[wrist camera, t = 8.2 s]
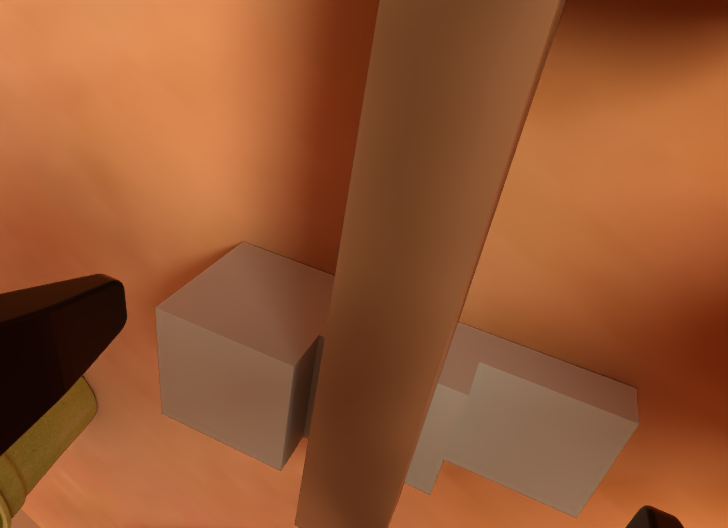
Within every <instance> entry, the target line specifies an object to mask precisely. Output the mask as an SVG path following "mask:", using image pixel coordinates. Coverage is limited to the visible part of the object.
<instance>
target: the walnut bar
mask: <svg viewBox="0 0 728 528" xmlns="http://www.w3.org/2000/svg"><path fill="white" fill-rule="evenodd" d="M565 2H566V0H379V5H378V12H377V18H376V24H375V30H374V36H373V43H372V49H371V55H370V61H369V67H368V73H367V80H366V86H365V92H364V98H363V104H362V111H361V117H360V123H359V129H358V135H357V142H356V148H355V154H354V160H353V166H352V173H351V179H350V185H349V191H348V197H347V204H346V210H345V216H344V222H343V228H342V235H341V241H340V247H339V253H338V259H337V266H336V272H335V278H334V284H333V290H332V297H331V303H330V309H329V315H328V321H327V328H326V334H325V340H324V346H323V352H322V359H321V365H320V371H319V377H318V383H317V390H316V396H315V402H314V408H313V414H312V421H311V427H310V433H309V439H308V445H307V452H306V458H305V464H304V470H303V476H302V483H301V489H300V495H299V501H298V507H297V514H296V520H295V525H296V526H298V527H299V528H388V526H389V523H390V521H391V518H392V516H393V513H394V511H395V508H396V505H397V503H398V500H399V497H400V494H401V491H402V488H403V485H404V482H405V479H406V476H407V473H408V470H409V467H410V464H411V461H412V458H413V455H414V452H415V449H416V446H417V443H418V440H419V437H420V434H421V431H422V428H423V425H424V422H425V419H426V416H427V413H428V410H429V407H430V404H431V401H432V398H433V396H434V393H435V390H436V387H437V384H438V381H439V378H440V375H441V372H442V369H443V366H444V363H445V360H446V357H447V354H448V351H449V348H450V345H451V342H452V339H453V336H454V333H455V330H456V327H457V324H458V321H459V318H460V315H461V312H462V309H463V306H464V303H465V300H466V297H467V294H468V291H469V288H470V285H471V282H472V279H473V276H474V273H475V270H476V267H477V264H478V261H479V258H480V255H481V252H482V249H483V246H484V243H485V240H486V237H487V234H488V231H489V228H490V225H491V222H492V219H493V216H494V214H495V211H496V208H497V205H498V202H499V199H500V196H501V193H502V190H503V187H504V184H505V181H506V178H507V175H508V172H509V169H510V166H511V163H512V160H513V157H514V154H515V151H516V148H517V145H518V142H519V139H520V136H521V133H522V130H523V127H524V124H525V121H526V118H527V115H528V112H529V109H530V106H531V103H532V100H533V97H534V94H535V91H536V88H537V85H538V82H539V79H540V76H541V73H542V70H543V67H544V64H545V61H546V58H547V55H548V52H549V49H550V46H551V43H552V40H553V37H554V34H555V31H556V29H557V26H558V23H559V20H560V17H561V14H562V11H563V8H564V5H565Z"/></svg>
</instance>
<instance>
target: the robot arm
mask: <svg viewBox="0 0 728 528" xmlns="http://www.w3.org/2000/svg"><path fill="white" fill-rule="evenodd" d="M126 320H127V310H126V300H125V290H124V286H123V284H122V282H120V281H119V280H117V279H114V278H112V277H110V276H107V275H105V274H95V275H90V276H85V277H80V278H75V279H70V280H66V281H61V282H56V283H51V284H46V285H41V286H36V287H31V288H27V289H22V290H17V291H12V292H7V293H2V294H0V457H1V456H2V455H3V454H4V453H5V452H6V451H7V450H8V449H9V448H10V447H11V446H12V445H13V444H14V443H15V442H16V441H17V440H18V439H19V438H20V437H21V436H23V435H24V434H25V433H26V432H27V431H28V430H29V429H30V428H31V427H32V426H33V425H34V424H35V423H36V422H37V421H38V420H39V419H40V418H41V417H42V416H43V415H45V414H46V413H47V412H48V411H49V410H50V409H51V408H52V407H53V406H54V405H55V404H56V403H57V402H58V401H59V400H60V399H61V398H62V397H63V396H64V395H65V394H66V393H67V392H68V391H69V390H70V389H71V387H72V386H73V385H74V384H75V383H76V382H77V381H78V380H79V379H80V377H81V376H82V375H83V374H84V373H85V372H86V370H87V369H88V368H89V367H90V366H91V365H92V364H93V362H94V361H95V360H96V359H97V358H98V357H99V356H100V354H101V353H102V352H103V351H104V350H105V349H106V347H107V346H108V345H109V344H110V343H111V342H112V341H113V339H114V338H115V337H116V336H117V335H118V334H119V332H120V331H121V330H122V329H123V327H124V325H125V323H126ZM626 528H684V527H683V525H682V524H681V522H680V521H679V520H678V519H677V518H676V517H675V516H673V515H671V514H668V513H666V512H664V511H661V510H659V509H657V508H654V507H652V506H643V507H642V508H641V509H640V510H639V511H638V512H637V513H636V515H635V516H634V517H633V519H632V520H631V521H630V522H629V524H628V525H627V526H626Z"/></svg>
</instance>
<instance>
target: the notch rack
mask: <svg viewBox="0 0 728 528" xmlns="http://www.w3.org/2000/svg"><path fill="white" fill-rule="evenodd" d="M334 278H335V276H334V275H331V274H329V273H326V272H323V271H320V270H318V269H315V268H312V267H310V266H307V265H304V264H302V263H299V262H296V261H294V260H291V259H288V258H286V257H283V256H280V255H278V254H275V253H272V252H270V251H267V250H264V249H262V248H259V247H256V246H253V245H251V244H248V243H245V242H242V243H240V244H239V245H238V246H236V247H235V248H234V249H232V250H231V251H230V252H228V253H227V254H226V255H224V256H223V257H222V258H220V259H219V260H218V261H216V262H215V263H214V264H212V265H211V266H210V267H208V268H207V269H205V270H204V271H203V272H201V273H200V274H199V275H197V276H196V277H195V278H193V279H192V280H191V281H189V282H188V283H187V284H185V285H184V286H183V287H181V288H180V289H179V290H177V291H176V292H175V293H173V294H172V295H171V296H169V297H168V298H167V299H165V300H164V301H163V302H161V303H160V304H159V305H157V306H156V307H155V317H156V332H157V347H158V363H159V378H160V393H161V409H162V414H164V415H166V416H168V417H170V418H172V419H174V420H176V421H178V422H180V423H182V424H184V425H186V426H188V427H190V428H193V429H195V430H197V431H199V432H201V433H203V434H205V435H207V436H209V437H211V438H213V439H215V440H217V441H219V442H222V443H224V444H226V445H228V446H230V447H232V448H234V449H236V450H238V451H240V452H242V453H244V454H246V455H248V456H251V457H253V458H255V459H257V460H259V461H261V462H263V463H265V464H267V465H269V466H271V467H273V468H275V469H277V470H280V471H281V470H282V469H283V467H284V465H285V464H286V462H287V461H288V459H289V458H290V456H291V455H292V453H293V452H294V450H295V448H296V447H297V445H298V444H299V442H300V441H301V439H302V438H303V437H305V438H308V439H309V433H310V427H311V421H312V414H313V408H314V402H315V396H316V390H317V383H318V377H319V371H320V365H321V359H322V352H323V346H324V340H325V334H326V328H327V321H328V315H329V309H330V303H331V297H332V290H333V284H334ZM638 425H639V414H638V401H637V388H634V387H631V386H629V385H626V384H623V383H621V382H618V381H615V380H613V379H610V378H607V377H605V376H602V375H599V374H596V373H594V372H591V371H588V370H586V369H583V368H580V367H578V366H575V365H572V364H570V363H567V362H564V361H562V360H559V359H556V358H554V357H551V356H548V355H546V354H543V353H540V352H538V351H535V350H532V349H529V348H527V347H524V346H521V345H519V344H516V343H513V342H511V341H508V340H505V339H503V338H500V337H497V336H495V335H492V334H489V333H487V332H484V331H481V330H479V329H476V328H473V327H471V326H468V325H465V324H462V323H460V322H458V324H457V327H456V330H455V333H454V336H453V339H452V342H451V345H450V348H449V351H448V354H447V357H446V360H445V363H444V366H443V369H442V372H441V375H440V378H439V381H438V384H437V387H436V390H435V393H434V396H433V398H432V401H431V404H430V407H429V410H428V413H427V416H426V419H425V422H424V425H423V428H422V431H421V434H420V437H419V440H418V443H417V446H416V449H415V452H414V455H413V458H412V461H411V464H410V467H409V470H408V473H407V476H406V479H405V482H404V483H405V484H408V485H410V486H412V487H414V488H416V489H418V490H421V491H423V492H425V493H427V494H429V495H430V494H431V491H432V489H433V486H434V483H435V481H436V478H437V476H438V473H439V471H440V468H441V465H442V463H443V460H446V461H448V462H450V463H452V464H455V465H457V466H459V467H461V468H464V469H466V470H468V471H471V472H473V473H475V474H477V475H480V476H482V477H484V478H486V479H489V480H491V481H493V482H496V483H498V484H500V485H502V486H505V487H507V488H509V489H511V490H514V491H516V492H518V493H520V494H523V495H525V496H527V497H530V498H532V499H534V500H536V501H539V502H541V503H543V504H545V505H548V506H550V507H552V508H555V509H557V510H559V511H561V512H564V513H566V514H568V515H570V516H573V517H575V518H577V516H578V515H579V513H580V512H581V510H582V509H583V507H584V506H585V504H586V503H587V501H588V500H589V498H590V497H591V495H592V494H593V493H594V491H595V490H596V488H597V487H598V485H599V484H600V482H601V481H602V479H603V478H604V476H605V475H606V473H607V472H608V470H609V469H610V467H611V466H612V464H613V463H614V461H615V460H616V458H617V457H618V455H619V454H620V452H621V451H622V449H623V448H624V446H625V445H626V443H627V442H628V440H629V439H630V437H631V436H632V434H633V433H634V431H635V430H636V428H637V427H638Z"/></svg>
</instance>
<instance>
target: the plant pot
mask: <svg viewBox="0 0 728 528" xmlns="http://www.w3.org/2000/svg"><path fill="white" fill-rule="evenodd" d="M96 411H97V403H96V399H95V396H94V394H93V392H92V390H91V388H90V387H89V385H88V383H87V382H86V380H85V379H83V377H82V376H81V377H80V379H79V380H78V381H77V382H76V383H75V384H74V385H73V386H72V387H71V389H70V390H69V391H68V392H67V393H66V394H65V395H64V396H63V397H62V398H61V399H60V400H59V401H58V402H57V403H56V404H55V405H54V406H53V407H52V408H51V409H50V410H49V411H48V412H47V413H46V414H45V415H43V416H42V417H41V418H40V419H39V420H38V421H37V422H36V423H35V424H34V425H33V426H32V427H31V428H30V429H29V430H28V431H27V432H26V433H25V434H24V435H23V436H21V437H20V438H19V439H18V440H17V441H16V442H15V443H14V444H13V445H12V446H11V447H10V448H9V449H8V450H7V451H6V452H5V453H4V454H3V455H2V456H1V457H0V528H10V527H11V519H12V518H13V517H14V515H15V514H16V513H17V512H18V511H19V509H20V508H21V507H22V506H23V504H24V502H25V499H26V496H27V495H28V494H29V493H30V492H31V490H32V489H33V488H34V487H35V486H36V484H37V483H38V482H39V481H40V480H41V478H42V477H43V476H44V475H45V474H46V472H47V471H48V470H49V469H50V468H51V467H52V465H53V464H54V463H55V462H56V461H57V459H58V458H59V457H60V456H61V455H62V454H63V452H64V451H65V450H66V449H67V448H68V447H69V446H70V444H71V443H72V442H73V441H74V440H75V439H76V438H77V437H78V435H79V434H80V433H81V432H82V431H83V430H84V429H85V428H86V426H87V425H88V424H89V423H90V422H91V421H92V419H93V417H94V415H95V413H96Z"/></svg>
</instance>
